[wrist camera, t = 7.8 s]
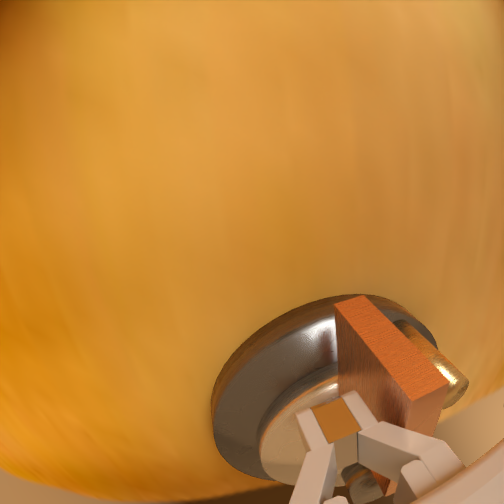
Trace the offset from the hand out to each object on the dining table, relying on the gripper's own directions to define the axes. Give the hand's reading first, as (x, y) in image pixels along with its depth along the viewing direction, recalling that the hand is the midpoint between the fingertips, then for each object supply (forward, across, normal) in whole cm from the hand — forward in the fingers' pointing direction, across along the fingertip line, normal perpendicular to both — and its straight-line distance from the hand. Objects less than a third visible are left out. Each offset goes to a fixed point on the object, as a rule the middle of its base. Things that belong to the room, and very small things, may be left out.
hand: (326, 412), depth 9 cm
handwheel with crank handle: (+7, +2, -7) cm, 10 cm away
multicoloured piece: (+4, +2, -5) cm, 7 cm away
